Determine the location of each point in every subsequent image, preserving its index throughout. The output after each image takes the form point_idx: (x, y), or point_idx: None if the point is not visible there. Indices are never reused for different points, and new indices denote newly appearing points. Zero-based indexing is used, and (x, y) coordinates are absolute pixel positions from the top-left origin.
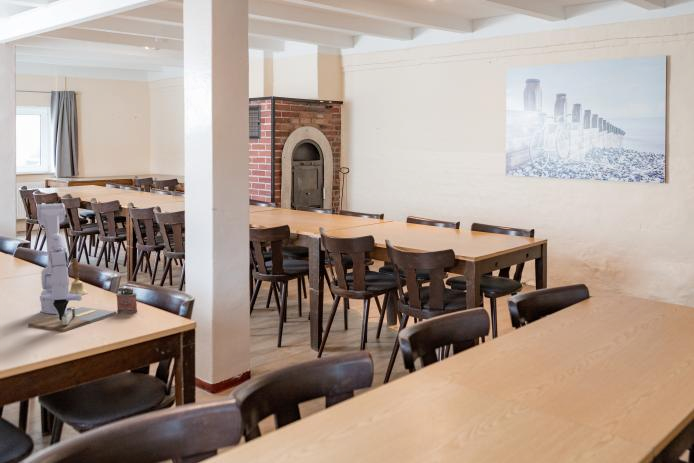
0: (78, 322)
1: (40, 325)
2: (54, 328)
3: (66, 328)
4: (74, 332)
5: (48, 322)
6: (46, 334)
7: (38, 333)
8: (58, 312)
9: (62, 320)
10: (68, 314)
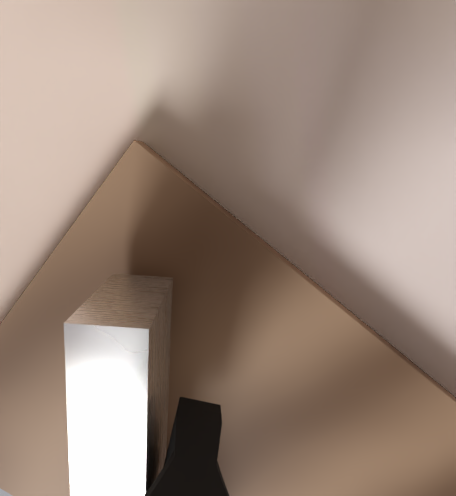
0: (20, 394)
1: (439, 388)
2: (268, 248)
3: (110, 173)
4: (5, 67)
5: (358, 480)
6: (343, 76)
7: (440, 157)
8: (223, 491)
9: (155, 302)
10: (71, 468)
